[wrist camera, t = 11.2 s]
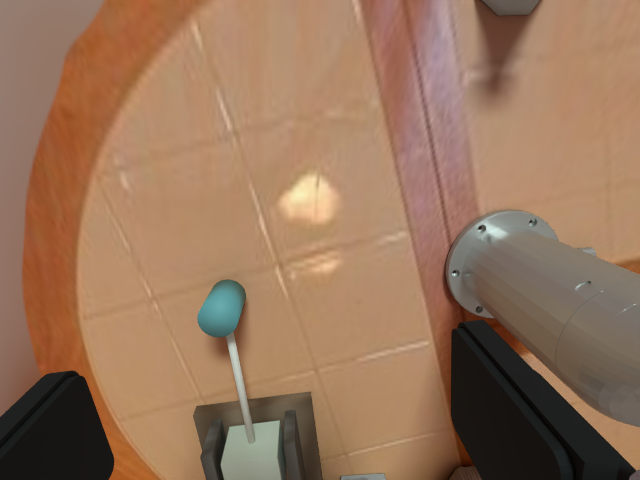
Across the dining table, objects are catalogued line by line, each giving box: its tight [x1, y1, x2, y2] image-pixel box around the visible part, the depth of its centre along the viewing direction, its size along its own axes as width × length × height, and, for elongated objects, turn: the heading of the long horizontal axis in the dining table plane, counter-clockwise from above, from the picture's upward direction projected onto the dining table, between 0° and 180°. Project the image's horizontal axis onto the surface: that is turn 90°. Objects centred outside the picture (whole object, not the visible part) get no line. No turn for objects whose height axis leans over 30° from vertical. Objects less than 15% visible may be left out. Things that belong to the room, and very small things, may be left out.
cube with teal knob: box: [198, 280, 286, 480], centre depth 37 cm, size 6×25×5 cm, turn 6°
